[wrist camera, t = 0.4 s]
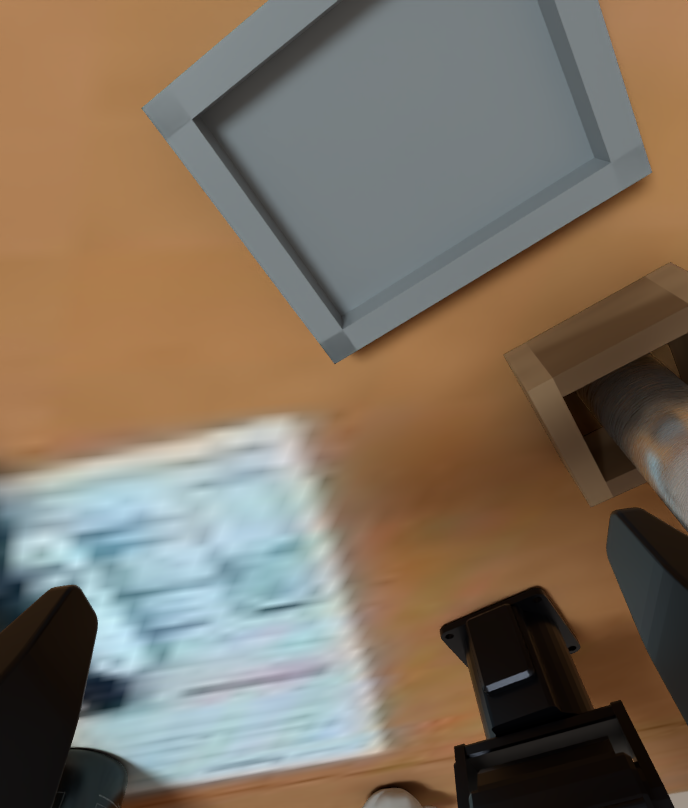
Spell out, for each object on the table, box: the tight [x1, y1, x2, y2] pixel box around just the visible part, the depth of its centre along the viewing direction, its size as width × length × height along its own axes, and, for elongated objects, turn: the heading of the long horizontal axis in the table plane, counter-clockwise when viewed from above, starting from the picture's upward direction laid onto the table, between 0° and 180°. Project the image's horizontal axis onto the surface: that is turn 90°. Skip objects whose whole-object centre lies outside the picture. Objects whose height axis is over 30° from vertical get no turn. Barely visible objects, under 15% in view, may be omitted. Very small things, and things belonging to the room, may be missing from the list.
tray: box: [142, 0, 652, 364], centre depth 17 cm, size 10×12×2 cm
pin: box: [575, 353, 688, 532], centre depth 19 cm, size 3×3×10 cm
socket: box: [504, 262, 688, 507], centre depth 22 cm, size 7×7×3 cm
